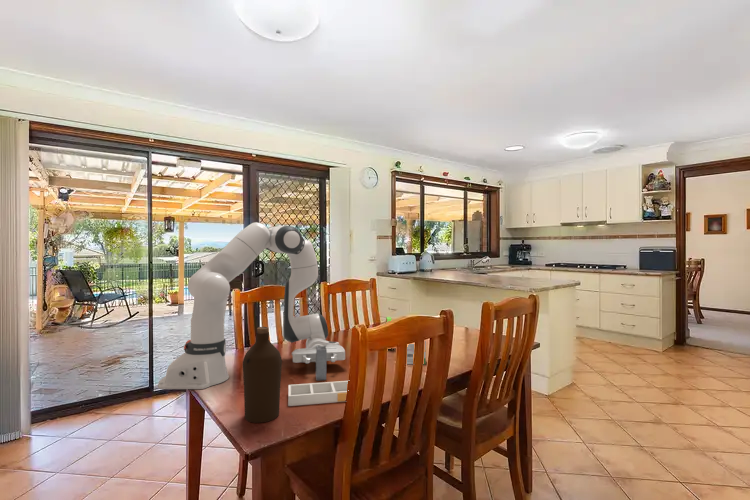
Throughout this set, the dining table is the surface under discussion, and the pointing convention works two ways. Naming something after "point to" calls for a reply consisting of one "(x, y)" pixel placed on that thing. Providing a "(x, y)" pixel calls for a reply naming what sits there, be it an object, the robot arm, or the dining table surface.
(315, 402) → the rack
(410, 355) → the ink box
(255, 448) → the dining table surface
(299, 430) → the dining table surface
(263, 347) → the olive oil
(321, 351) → the dark grey metallic block
